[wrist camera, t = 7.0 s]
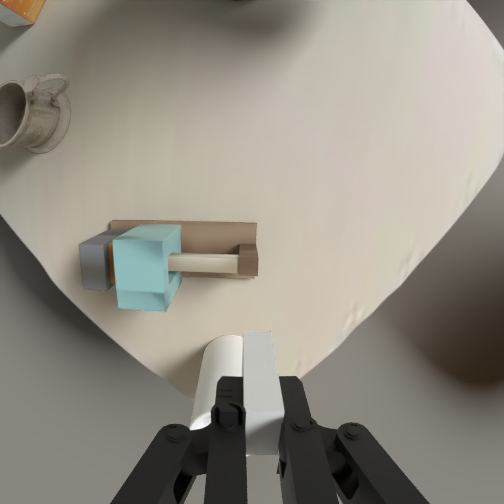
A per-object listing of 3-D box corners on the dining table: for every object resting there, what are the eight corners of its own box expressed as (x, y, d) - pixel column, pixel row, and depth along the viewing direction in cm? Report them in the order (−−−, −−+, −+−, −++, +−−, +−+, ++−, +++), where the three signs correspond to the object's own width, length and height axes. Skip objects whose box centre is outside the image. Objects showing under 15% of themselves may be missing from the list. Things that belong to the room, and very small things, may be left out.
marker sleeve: (140, 224, 36) (112, 239, 28) (180, 224, 37) (162, 241, 28) (143, 279, 38) (118, 308, 29) (181, 281, 38) (165, 311, 30)
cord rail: (113, 220, 39) (78, 234, 30) (256, 223, 40) (260, 239, 30) (116, 270, 41) (84, 297, 31) (254, 276, 42) (257, 307, 32)
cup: (224, 324, 43) (216, 399, 28) (270, 354, 45) (282, 431, 29) (192, 362, 45) (175, 439, 29) (237, 388, 46) (236, 467, 31)
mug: (26, 163, 37) (-27, 166, 25) (17, 107, 34) (-34, 97, 23) (104, 123, 36) (57, 110, 24) (91, 63, 34) (48, 35, 22)
